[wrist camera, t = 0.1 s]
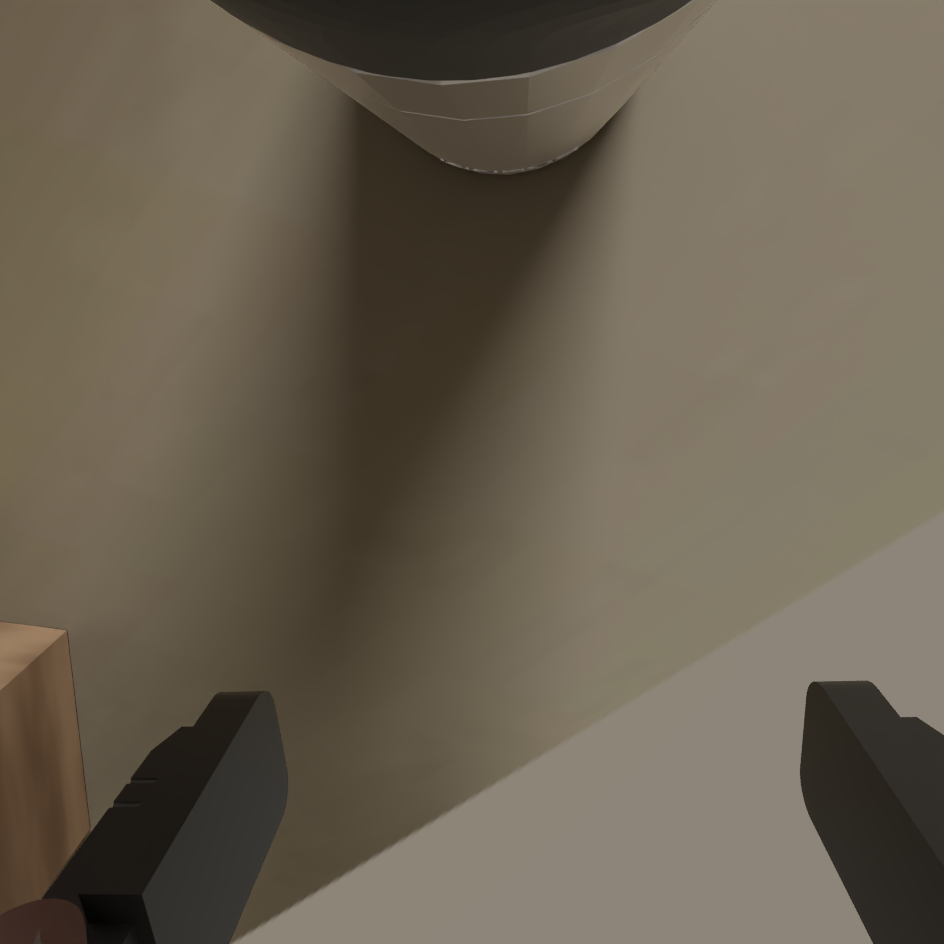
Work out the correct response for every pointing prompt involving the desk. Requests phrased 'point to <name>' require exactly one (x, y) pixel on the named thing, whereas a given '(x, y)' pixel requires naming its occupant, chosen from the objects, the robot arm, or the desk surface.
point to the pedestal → (37, 763)
